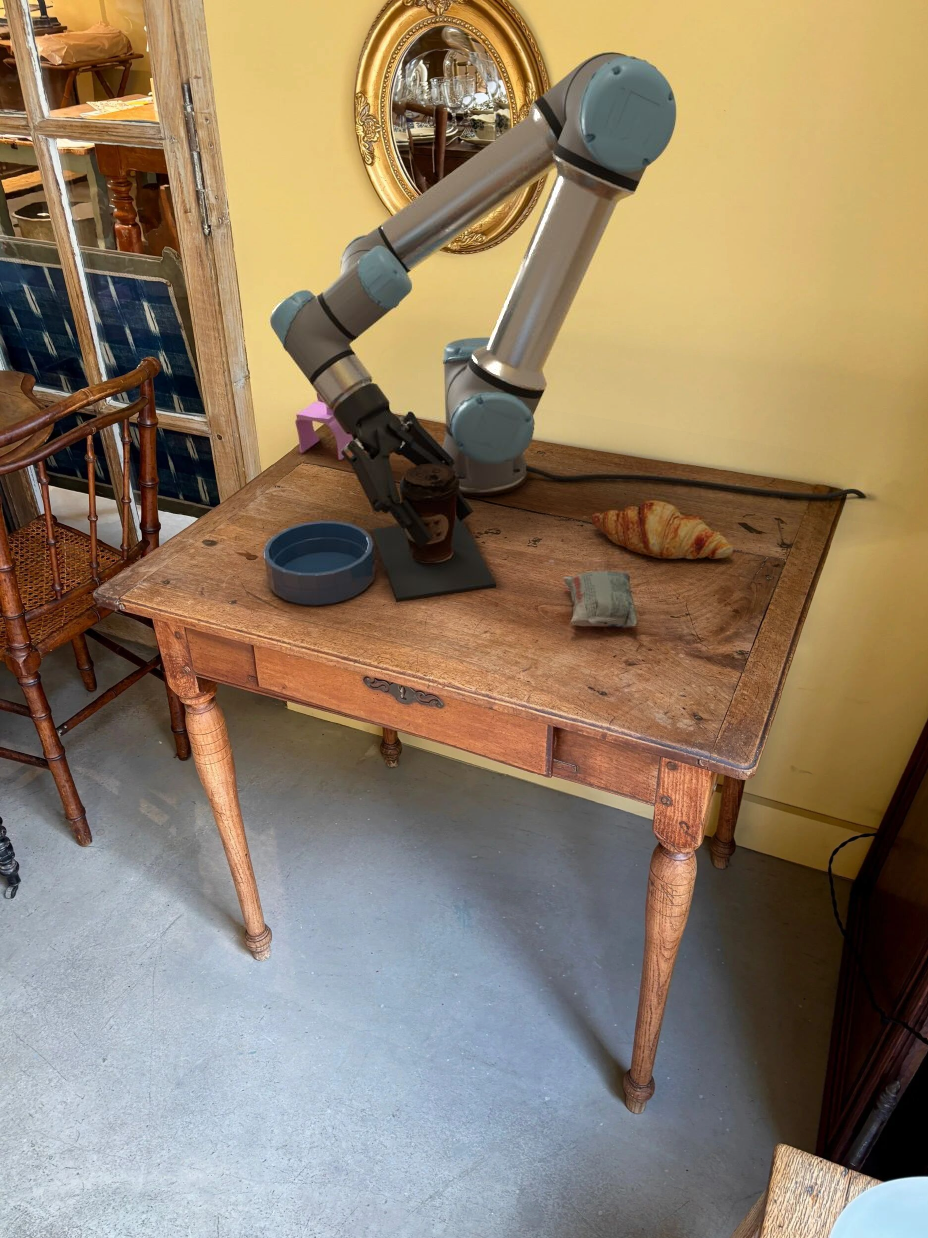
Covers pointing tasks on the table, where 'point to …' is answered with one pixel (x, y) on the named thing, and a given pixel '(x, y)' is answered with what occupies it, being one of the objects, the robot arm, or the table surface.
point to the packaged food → (602, 599)
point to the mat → (432, 565)
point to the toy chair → (321, 415)
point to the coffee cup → (432, 508)
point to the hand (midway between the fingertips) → (447, 529)
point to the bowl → (320, 562)
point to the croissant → (661, 532)
